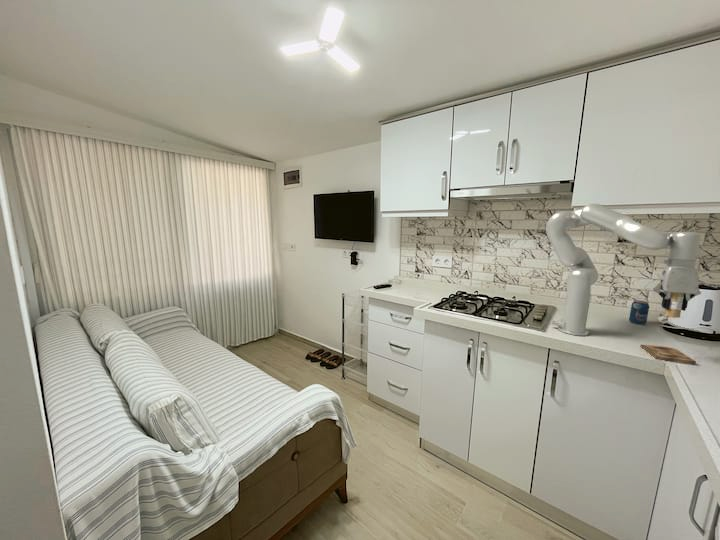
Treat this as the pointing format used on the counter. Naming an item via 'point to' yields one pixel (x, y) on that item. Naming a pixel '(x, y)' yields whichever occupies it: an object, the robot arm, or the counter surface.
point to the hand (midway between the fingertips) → (673, 308)
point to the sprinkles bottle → (675, 305)
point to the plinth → (667, 354)
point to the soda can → (639, 312)
